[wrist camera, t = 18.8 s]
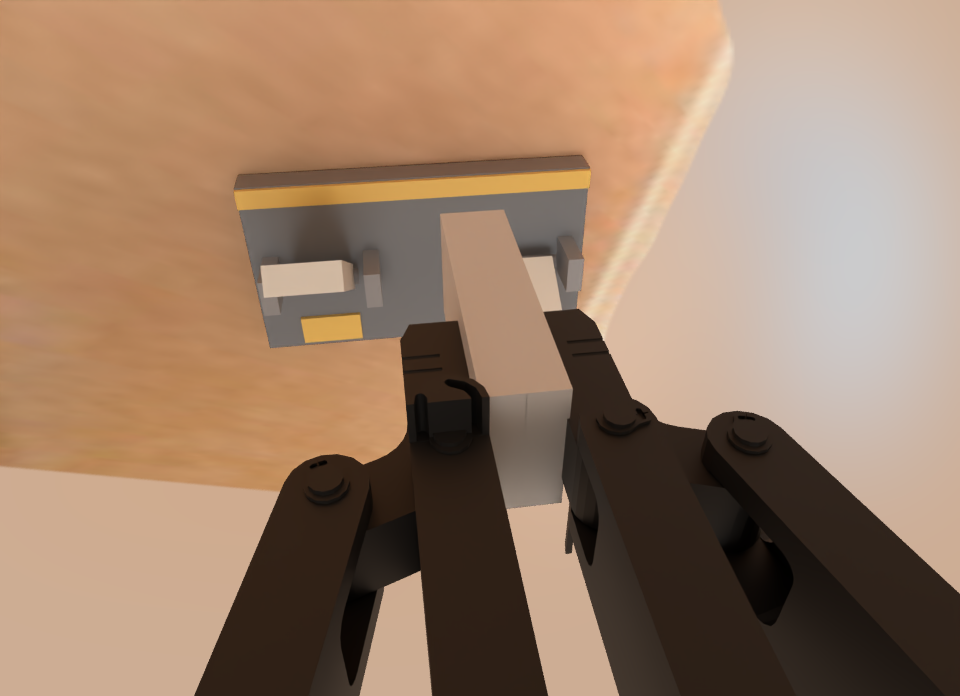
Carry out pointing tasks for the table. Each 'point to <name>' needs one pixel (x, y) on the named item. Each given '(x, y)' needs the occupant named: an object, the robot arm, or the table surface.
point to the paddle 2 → (544, 280)
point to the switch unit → (400, 236)
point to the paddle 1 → (308, 278)
